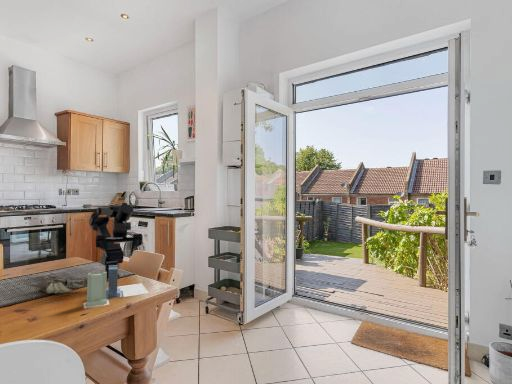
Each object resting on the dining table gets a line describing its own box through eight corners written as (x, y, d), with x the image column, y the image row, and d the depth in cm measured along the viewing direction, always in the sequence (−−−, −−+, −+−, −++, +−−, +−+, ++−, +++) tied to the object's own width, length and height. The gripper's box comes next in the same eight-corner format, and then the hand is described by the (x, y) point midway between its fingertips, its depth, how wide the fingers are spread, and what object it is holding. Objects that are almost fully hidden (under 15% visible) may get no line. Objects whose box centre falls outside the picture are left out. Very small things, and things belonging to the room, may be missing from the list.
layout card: (81, 292, 120) (81, 290, 120) (141, 284, 132) (141, 283, 132) (83, 309, 102) (84, 308, 102) (152, 298, 114) (152, 297, 114)
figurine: (78, 271, 133) (92, 279, 122) (77, 284, 133) (91, 294, 121) (23, 276, 118) (33, 286, 107) (21, 291, 118) (31, 303, 107)
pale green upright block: (87, 306, 103) (88, 275, 104) (86, 303, 107) (87, 272, 107) (106, 303, 107) (107, 273, 107) (105, 300, 110) (106, 270, 110)
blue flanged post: (104, 293, 117) (105, 266, 117) (119, 292, 120) (120, 264, 120) (104, 298, 112) (105, 269, 112) (120, 296, 114) (121, 268, 115)
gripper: (96, 216, 127) (94, 246, 117) (142, 215, 135) (144, 243, 125) (97, 232, 134) (94, 262, 124) (141, 231, 142) (142, 258, 132)
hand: (119, 256), depth 126 cm, fingers open, 9 cm apart
